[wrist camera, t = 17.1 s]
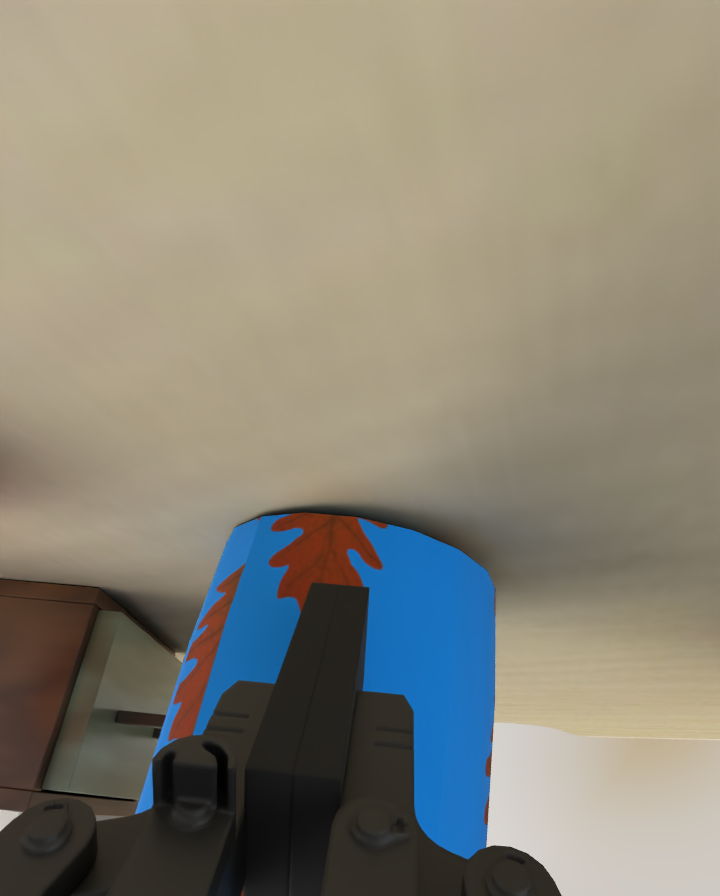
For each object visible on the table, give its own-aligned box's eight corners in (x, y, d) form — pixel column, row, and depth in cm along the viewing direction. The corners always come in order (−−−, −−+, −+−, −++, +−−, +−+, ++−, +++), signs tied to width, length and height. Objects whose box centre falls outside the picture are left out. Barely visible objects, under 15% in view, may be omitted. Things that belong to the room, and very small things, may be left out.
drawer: (207, 619, 30) (165, 803, 26) (251, 673, 41) (226, 809, 37) (-136, 588, 31) (-227, 758, 27) (-7, 648, 42) (-58, 777, 38)
